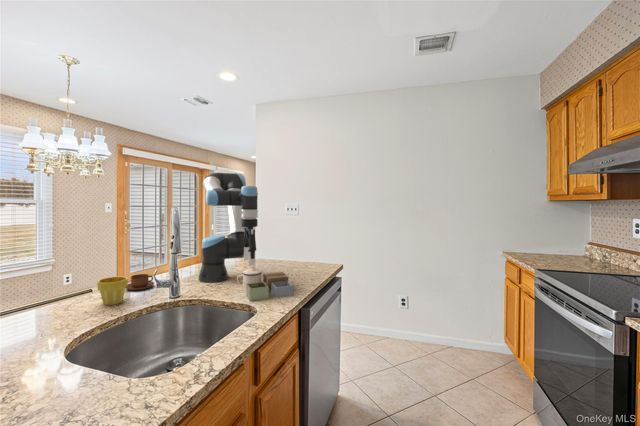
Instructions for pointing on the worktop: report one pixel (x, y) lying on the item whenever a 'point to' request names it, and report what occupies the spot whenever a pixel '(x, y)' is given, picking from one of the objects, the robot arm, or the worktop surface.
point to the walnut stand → (274, 278)
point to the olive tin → (257, 291)
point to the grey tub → (282, 289)
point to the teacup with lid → (250, 277)
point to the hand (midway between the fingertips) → (249, 262)
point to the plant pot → (112, 289)
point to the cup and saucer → (140, 282)
